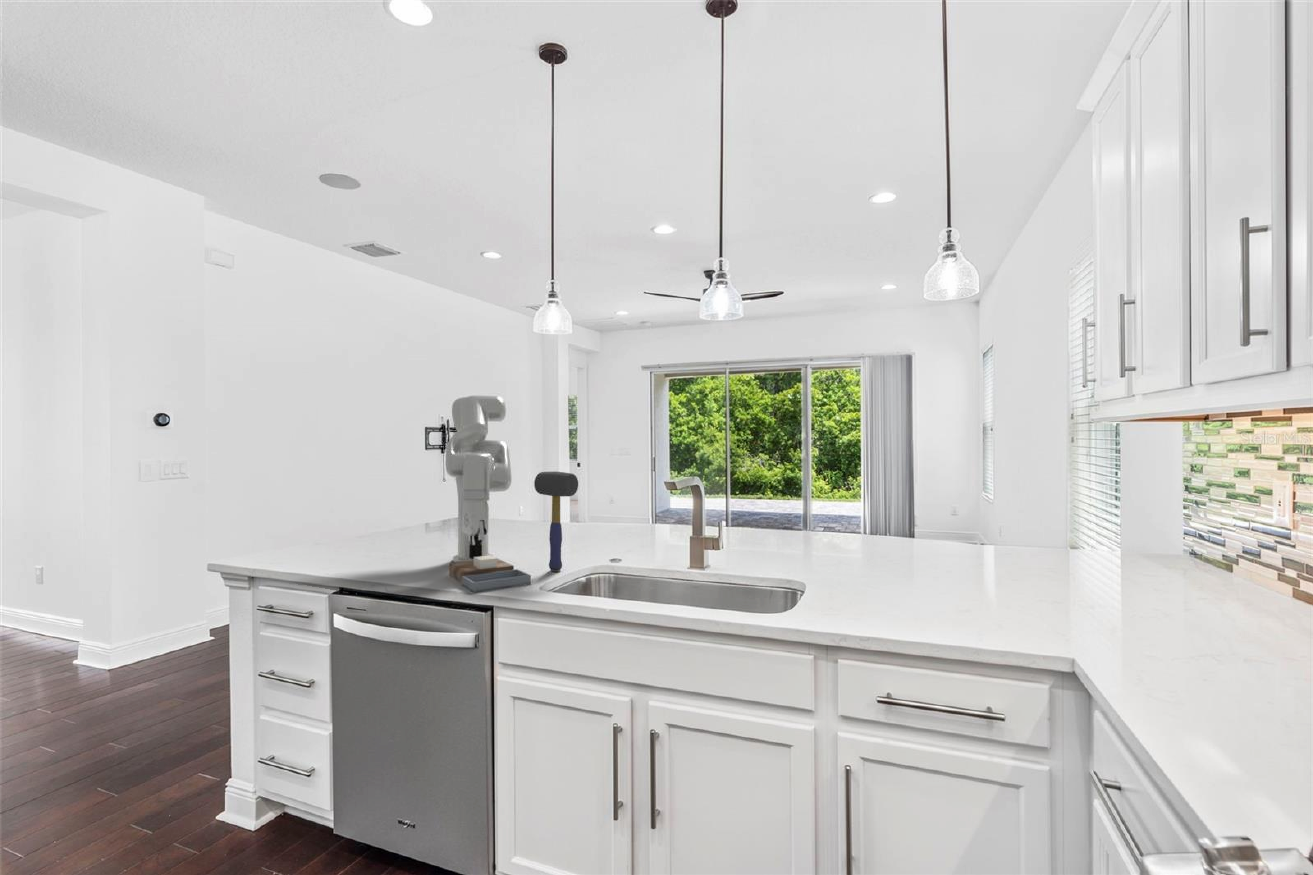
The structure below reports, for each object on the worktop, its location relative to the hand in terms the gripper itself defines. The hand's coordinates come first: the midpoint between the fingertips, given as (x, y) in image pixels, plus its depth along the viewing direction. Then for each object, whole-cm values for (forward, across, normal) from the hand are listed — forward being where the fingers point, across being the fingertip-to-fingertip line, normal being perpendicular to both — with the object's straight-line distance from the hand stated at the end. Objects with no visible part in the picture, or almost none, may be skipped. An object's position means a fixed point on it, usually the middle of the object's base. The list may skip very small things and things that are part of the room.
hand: (475, 558), depth 181 cm
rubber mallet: (+5, +10, +21) cm, 24 cm away
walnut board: (+5, +4, 0) cm, 6 cm away
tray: (+5, +16, 0) cm, 17 cm away
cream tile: (+1, +8, 0) cm, 8 cm away
